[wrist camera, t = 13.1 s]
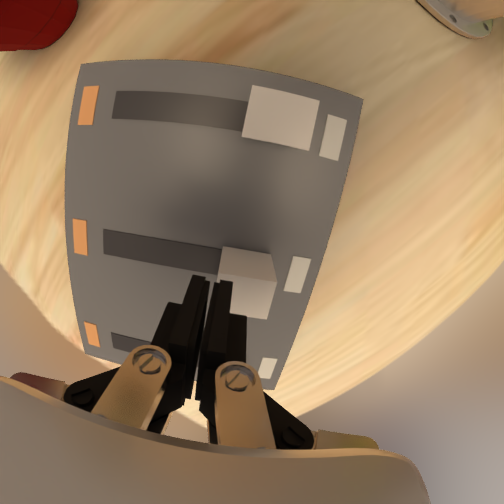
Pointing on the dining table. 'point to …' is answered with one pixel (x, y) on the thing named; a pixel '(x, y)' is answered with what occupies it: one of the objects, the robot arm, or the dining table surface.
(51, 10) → the plastic cup
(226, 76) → the switch panel
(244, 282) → the switch
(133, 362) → the robot arm
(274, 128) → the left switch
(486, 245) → the dining table surface
